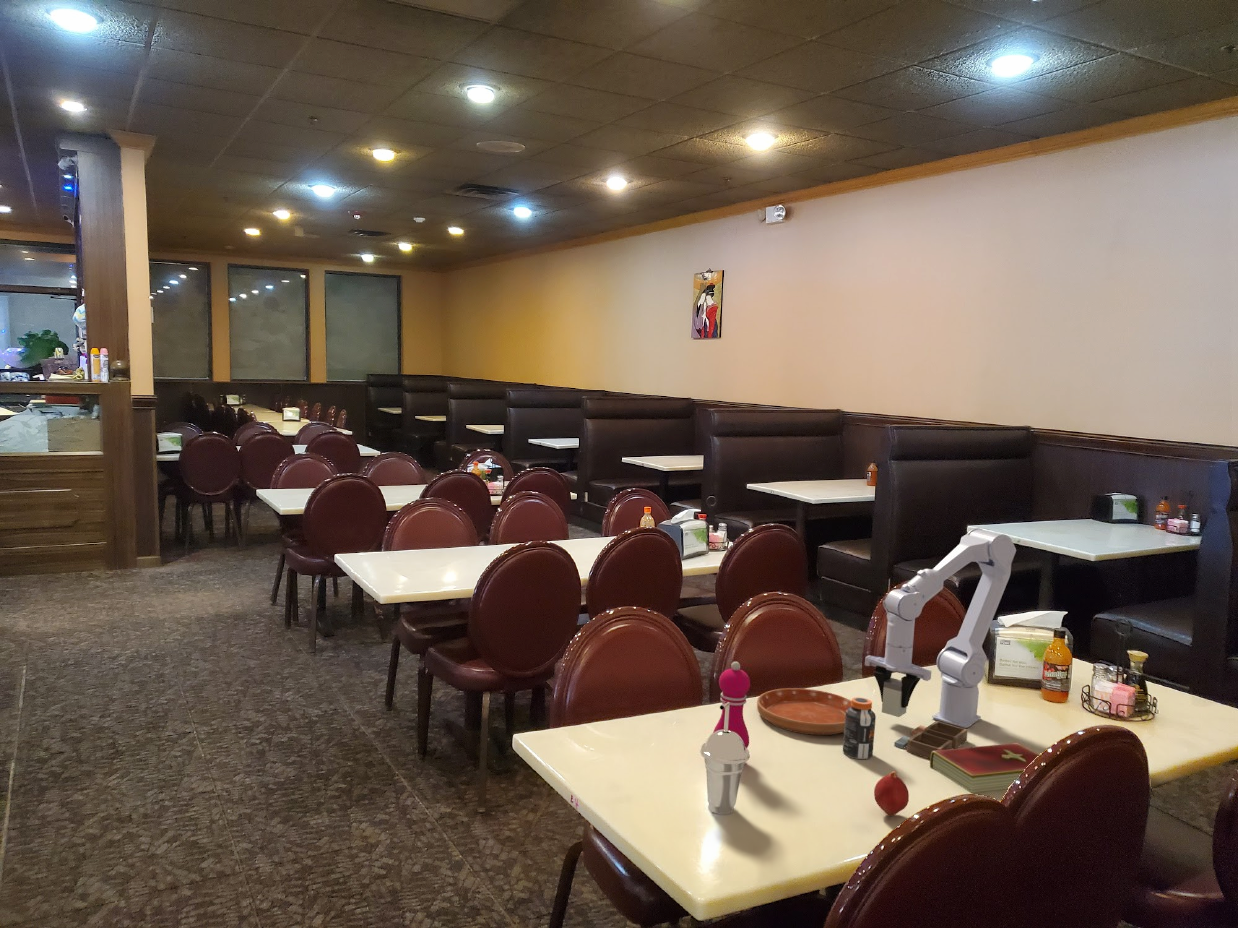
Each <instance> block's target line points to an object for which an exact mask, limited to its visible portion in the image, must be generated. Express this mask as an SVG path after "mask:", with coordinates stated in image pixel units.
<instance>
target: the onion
mask: <svg viewBox="0 0 1238 928" xmlns="http://www.w3.org/2000/svg"><path fill="white" fill-rule="evenodd" d="M873 795H874V801H875V803H876V804H877V806H878V807H879V808H880V810H882V811H883V812H884V813H885V814H886V815H887V816H888V815H889V816H890V817H892V816H895V815H896V814H898V813H900V812H901V811H904V809H906V807H907V806H908V804H909V802H910V801H909V799H910V798H909V797H910V795H909V789H908V787H907V785H906V783H905V782H904V781H903V780H902V778H900V777H899V776H898V775H897V772H896V771H891V772H890V773H889V774H887V775H884V776H883V777H882V778H880V779H879V780H878V781H877V782H876V784H875V787H874V791H873ZM889 816H888V817H889Z"/></svg>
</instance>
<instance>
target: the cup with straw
mask: <svg viewBox="0 0 1238 928" xmlns="http://www.w3.org/2000/svg"><path fill="white" fill-rule="evenodd" d="M724 708H725V722H724V729H722V730H718V731H716V732H714V733H713V732H712V733H711V734H709V736H708V738H707V740H706V741H705V743H703V744H702V745H701V746H700V750H699V753H700V755H701V756H702V758H704V765H705V770H706V771H705V773H706V790H707V791H706V793H707V802H708V805H707V808H708V810H709V811H711V812H712V813H714V814H718V815H731V814H733V813H734V811H735V806H736V803H737V800H738V799H737V797H738V794H739V793H738V792H739V787H740V782H741V777H742V773H743V771H744V767H745V764H746V762H748V760H750V757H751V756H750V751H749V749H748V748H746V747H745V745H744V742H743V740H742V738H741V737H740V736H739V735H738V734H737V733H735V732H733V731H731V730H728V722H729V708H730V706H729V702H728V701H726V702H725V703H723V704H722V703H721V705H720V706H719V709H720V710H721V711H722V710H723V709H724ZM744 763H745V764H744Z"/></svg>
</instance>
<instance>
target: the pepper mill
mask: <svg viewBox="0 0 1238 928" xmlns="http://www.w3.org/2000/svg"><path fill="white" fill-rule="evenodd" d="M718 684H719V688H720V690H721V691H722V692H721V693H720V699H719V700H720V701H721V705H722V704H723V703H725V702H726V701H728V702H729V706H730V708H729V722H728V730H731V731H733V732H735V733H737V734H738V735H739V736H740V737H741V738H742V740H743V742H744V745H745V747H746V748H747V749H748V748H749V745H750V735H749V731H748V729H747V725H746V722H745V720H744V705H745V704H747V694H746V693H747V692H748V691H750V687H751V680H750V676H749V675H748V674H747V673H746V672H745V671H744V670H742V669H741V663H739V662H738V661H732V663H731V665H730V668H728V669H726V670H724V671H723V672H722V673H721V675H720V676H719V680H718ZM724 722H725V708H724V709H723V710H721V715H720V718H719V720H718V722H717V724H716V725H715V727H714V729H713V732H712V733H714V732H716V731H718V730H722V729H724ZM744 765H746V762H745V763H744Z"/></svg>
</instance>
